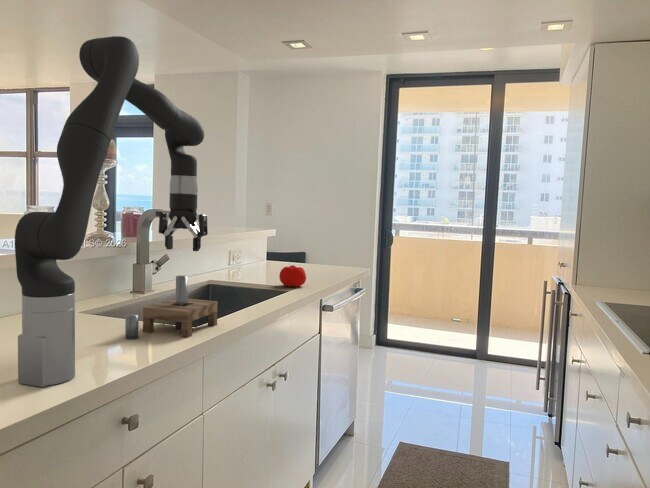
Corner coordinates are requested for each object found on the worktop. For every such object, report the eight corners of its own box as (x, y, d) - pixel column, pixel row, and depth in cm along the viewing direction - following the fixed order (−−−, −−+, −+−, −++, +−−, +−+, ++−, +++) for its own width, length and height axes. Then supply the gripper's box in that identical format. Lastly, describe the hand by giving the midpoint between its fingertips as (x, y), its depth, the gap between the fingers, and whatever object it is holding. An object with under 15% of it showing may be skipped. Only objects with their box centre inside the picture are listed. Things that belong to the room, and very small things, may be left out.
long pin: (182, 330, 144) (183, 277, 143) (173, 328, 145) (173, 276, 144) (189, 327, 147) (189, 275, 146) (179, 326, 148) (180, 275, 147)
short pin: (133, 340, 132) (133, 317, 132) (122, 338, 133) (122, 315, 133) (140, 337, 135) (141, 314, 135) (130, 335, 136) (130, 313, 136)
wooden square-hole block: (187, 337, 136) (188, 311, 136) (142, 332, 140) (143, 306, 140) (217, 324, 151) (217, 301, 151) (175, 320, 155) (176, 297, 155)
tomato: (305, 288, 222) (305, 268, 221) (277, 287, 222) (278, 267, 222) (306, 284, 233) (307, 265, 232) (280, 283, 233) (280, 264, 232)
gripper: (153, 191, 141) (152, 249, 143) (199, 192, 137) (198, 252, 139) (169, 192, 149) (168, 247, 150) (213, 193, 145) (211, 250, 146)
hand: (182, 250), depth 144 cm, fingers open, 8 cm apart
